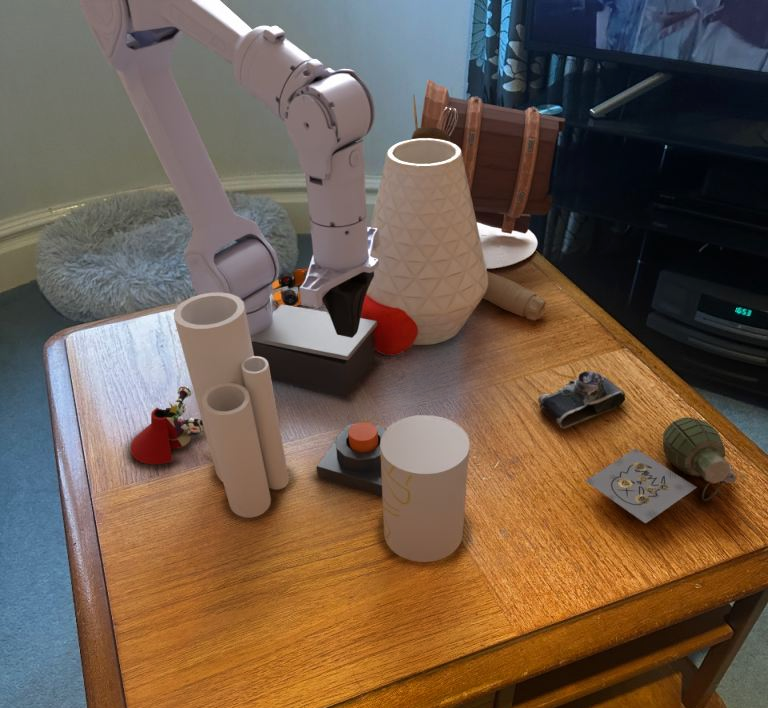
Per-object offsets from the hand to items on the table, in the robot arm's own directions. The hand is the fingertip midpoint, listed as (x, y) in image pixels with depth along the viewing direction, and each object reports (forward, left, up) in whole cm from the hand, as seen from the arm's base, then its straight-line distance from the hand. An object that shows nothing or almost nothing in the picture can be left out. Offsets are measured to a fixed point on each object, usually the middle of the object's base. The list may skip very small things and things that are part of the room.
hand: (347, 333), depth 82 cm
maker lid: (-8, +5, -5) cm, 10 cm away
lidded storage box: (-8, +5, -10) cm, 14 cm away
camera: (+26, +10, -11) cm, 30 cm away
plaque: (0, +47, -8) cm, 47 cm away
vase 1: (-4, -16, -11) cm, 20 cm away
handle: (+16, +27, -9) cm, 33 cm away
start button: (+6, -9, -7) cm, 13 cm away
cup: (+16, -16, -11) cm, 25 cm away
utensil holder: (-2, +27, +5) cm, 28 cm away
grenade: (+38, +8, -9) cm, 40 cm away
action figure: (-17, -14, -11) cm, 24 cm away
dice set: (+35, -3, -8) cm, 36 cm away
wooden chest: (-9, +41, +3) cm, 42 cm away
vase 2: (+1, +20, -10) cm, 23 cm away
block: (+6, -9, -10) cm, 15 cm away
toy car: (-17, +21, -7) cm, 28 cm away
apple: (-1, +14, -11) cm, 18 cm away
